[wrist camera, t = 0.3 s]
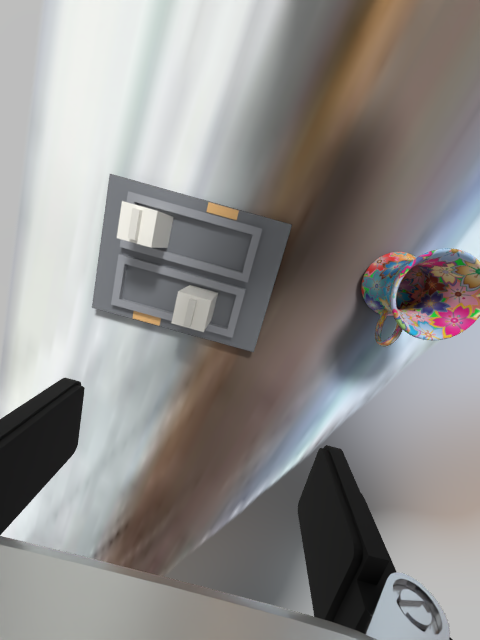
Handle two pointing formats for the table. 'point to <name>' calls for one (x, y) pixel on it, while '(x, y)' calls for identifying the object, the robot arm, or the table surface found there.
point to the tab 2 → (194, 307)
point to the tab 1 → (144, 226)
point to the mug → (424, 293)
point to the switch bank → (190, 263)
